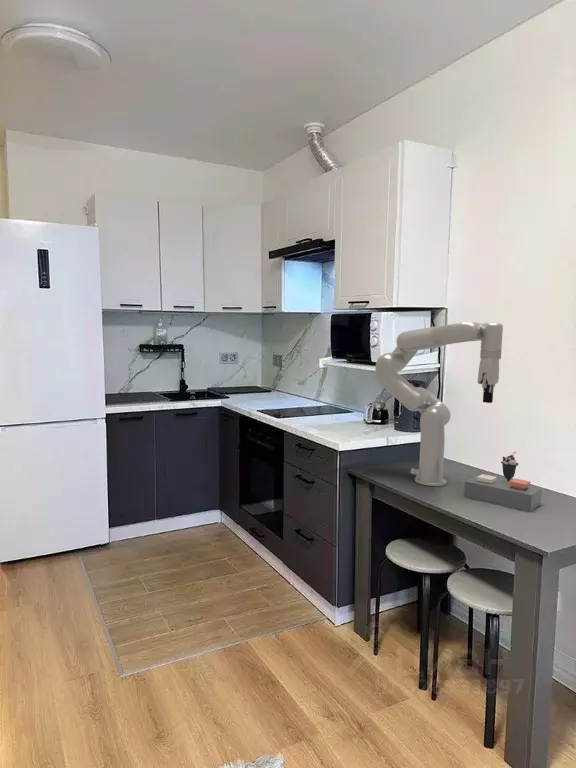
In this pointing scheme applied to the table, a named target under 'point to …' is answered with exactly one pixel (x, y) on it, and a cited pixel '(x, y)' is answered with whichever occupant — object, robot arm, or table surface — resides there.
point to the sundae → (509, 466)
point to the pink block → (519, 484)
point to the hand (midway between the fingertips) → (487, 402)
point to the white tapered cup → (486, 478)
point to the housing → (503, 494)
